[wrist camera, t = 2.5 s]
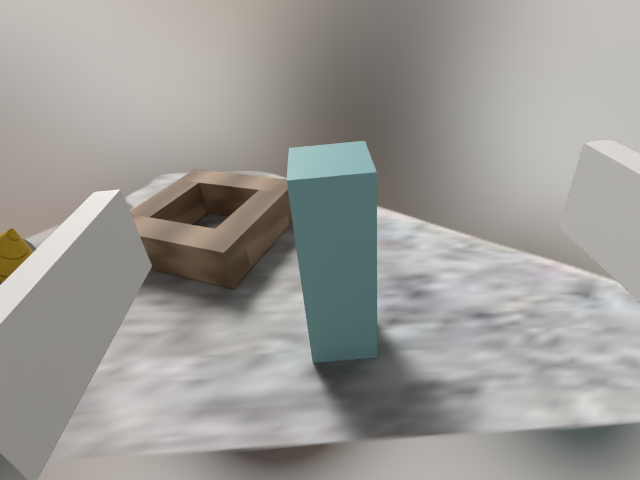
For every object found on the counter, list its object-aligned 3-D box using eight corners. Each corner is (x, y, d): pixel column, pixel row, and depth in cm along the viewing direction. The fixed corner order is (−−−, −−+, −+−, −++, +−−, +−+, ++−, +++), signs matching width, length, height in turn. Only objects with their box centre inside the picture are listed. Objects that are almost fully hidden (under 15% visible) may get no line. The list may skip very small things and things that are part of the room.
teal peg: (312, 363, 27) (286, 180, 19) (311, 316, 31) (289, 148, 23) (377, 357, 27) (376, 172, 19) (368, 311, 31) (364, 141, 23)
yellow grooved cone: (41, 258, 42) (57, 213, 36) (25, 305, 40) (40, 264, 33) (-22, 246, 39) (-16, 193, 33) (-44, 295, 37) (-42, 248, 30)
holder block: (118, 261, 40) (103, 228, 37) (202, 198, 50) (194, 169, 48) (233, 289, 35) (223, 252, 32) (300, 212, 45) (296, 180, 43)
